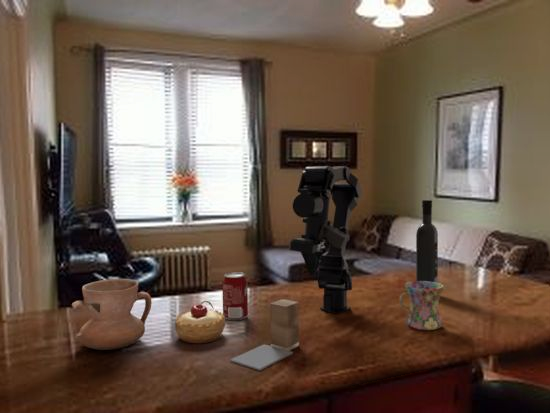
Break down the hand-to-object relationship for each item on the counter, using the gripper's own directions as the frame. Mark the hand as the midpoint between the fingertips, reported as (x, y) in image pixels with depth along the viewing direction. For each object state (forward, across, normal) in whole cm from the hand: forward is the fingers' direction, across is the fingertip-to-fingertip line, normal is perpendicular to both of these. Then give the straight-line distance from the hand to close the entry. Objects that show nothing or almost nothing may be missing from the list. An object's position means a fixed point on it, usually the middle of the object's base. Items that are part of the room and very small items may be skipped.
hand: (312, 275), depth 121 cm
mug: (+10, +8, -27) cm, 30 cm away
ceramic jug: (+17, -32, +35) cm, 50 cm away
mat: (+13, -25, 0) cm, 29 cm away
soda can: (+15, -4, +20) cm, 25 cm away
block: (+13, -18, -2) cm, 22 cm away
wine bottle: (+10, +41, -23) cm, 48 cm away
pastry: (+15, -20, +19) cm, 32 cm away
